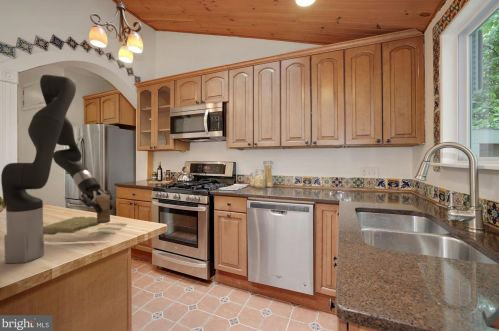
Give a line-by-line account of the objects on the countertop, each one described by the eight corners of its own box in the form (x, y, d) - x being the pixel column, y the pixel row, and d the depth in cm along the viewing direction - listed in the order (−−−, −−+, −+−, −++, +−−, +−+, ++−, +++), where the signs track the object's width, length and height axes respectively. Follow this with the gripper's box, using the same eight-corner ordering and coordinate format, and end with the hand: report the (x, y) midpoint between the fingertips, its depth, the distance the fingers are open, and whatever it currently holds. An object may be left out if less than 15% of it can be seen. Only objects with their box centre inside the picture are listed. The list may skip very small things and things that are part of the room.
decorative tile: (38, 234, 106) (38, 226, 105) (75, 221, 126) (75, 215, 125) (75, 236, 104) (75, 228, 104) (107, 223, 124) (107, 216, 123)
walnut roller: (106, 223, 103) (106, 196, 102) (94, 223, 102) (94, 196, 101) (112, 220, 108) (111, 194, 107) (100, 220, 107) (100, 194, 106)
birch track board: (112, 237, 102) (112, 235, 102) (85, 238, 100) (85, 236, 100) (129, 224, 120) (129, 222, 120) (106, 225, 119) (106, 223, 119)
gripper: (74, 178, 99) (96, 208, 96) (104, 175, 113) (124, 202, 110) (66, 190, 101) (87, 220, 98) (96, 185, 115) (115, 212, 112)
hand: (106, 210), depth 104 cm, fingers closed on walnut roller, 5 cm apart
